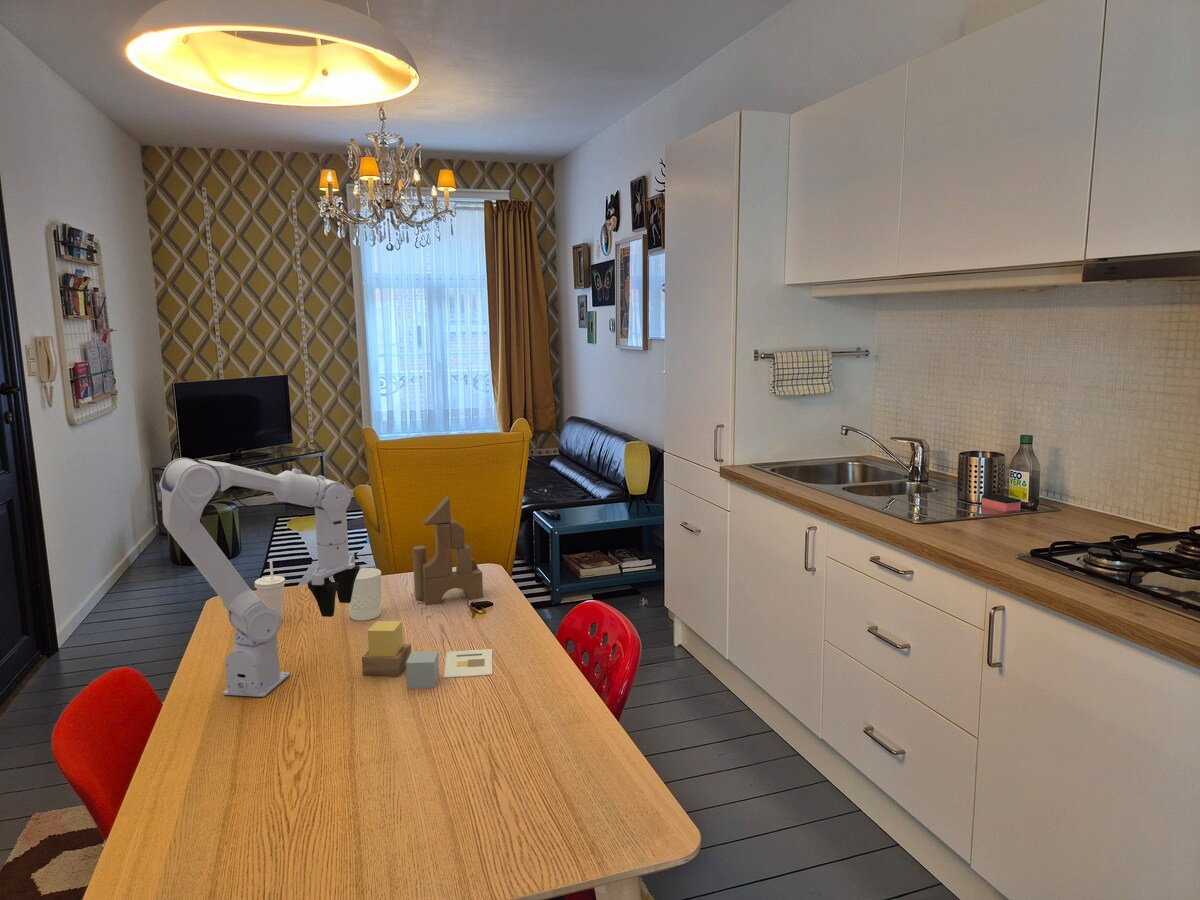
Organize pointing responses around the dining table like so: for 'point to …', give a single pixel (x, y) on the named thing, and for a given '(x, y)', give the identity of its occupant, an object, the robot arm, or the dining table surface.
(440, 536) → the wooden toy
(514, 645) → the dining table surface
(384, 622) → the mustard brick
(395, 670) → the walnut base
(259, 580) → the smoothie
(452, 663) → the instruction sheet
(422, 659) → the slate brick
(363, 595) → the white cup
